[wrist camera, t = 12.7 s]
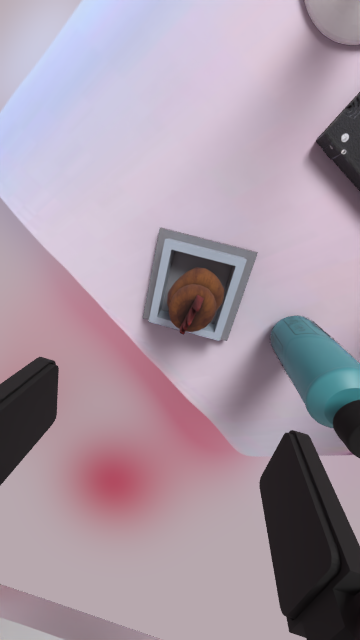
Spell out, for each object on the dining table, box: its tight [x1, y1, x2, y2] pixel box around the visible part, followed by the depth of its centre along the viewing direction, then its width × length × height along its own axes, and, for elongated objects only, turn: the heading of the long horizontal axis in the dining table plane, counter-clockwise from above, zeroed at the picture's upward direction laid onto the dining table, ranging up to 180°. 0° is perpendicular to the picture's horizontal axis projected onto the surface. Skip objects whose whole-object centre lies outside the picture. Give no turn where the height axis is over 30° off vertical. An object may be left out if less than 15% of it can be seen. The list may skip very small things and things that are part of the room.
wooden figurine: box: [167, 267, 224, 334], centre depth 26 cm, size 7×6×15 cm
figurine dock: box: [143, 228, 258, 341], centre depth 32 cm, size 13×13×4 cm
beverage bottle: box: [270, 316, 360, 458], centre depth 25 cm, size 6×7×20 cm
